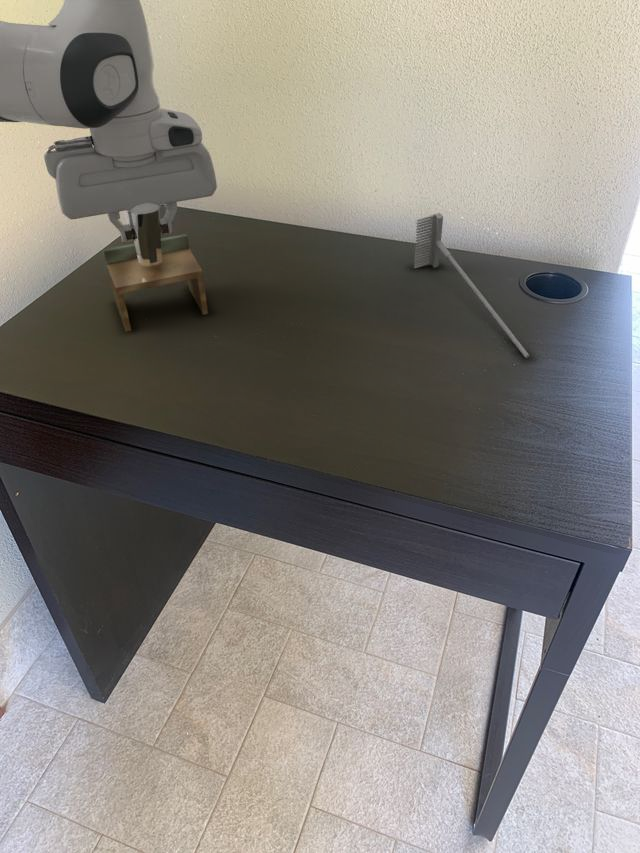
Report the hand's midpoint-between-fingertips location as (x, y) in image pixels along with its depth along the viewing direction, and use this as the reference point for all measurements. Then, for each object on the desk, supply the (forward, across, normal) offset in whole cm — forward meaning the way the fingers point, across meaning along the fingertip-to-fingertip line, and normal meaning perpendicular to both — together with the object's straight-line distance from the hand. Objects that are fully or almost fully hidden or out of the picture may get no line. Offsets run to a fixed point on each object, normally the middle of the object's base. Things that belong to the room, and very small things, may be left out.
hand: (147, 236), depth 93 cm
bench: (+12, 0, 0) cm, 12 cm away
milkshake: (+4, 0, 0) cm, 4 cm away
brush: (+12, +42, -17) cm, 47 cm away
